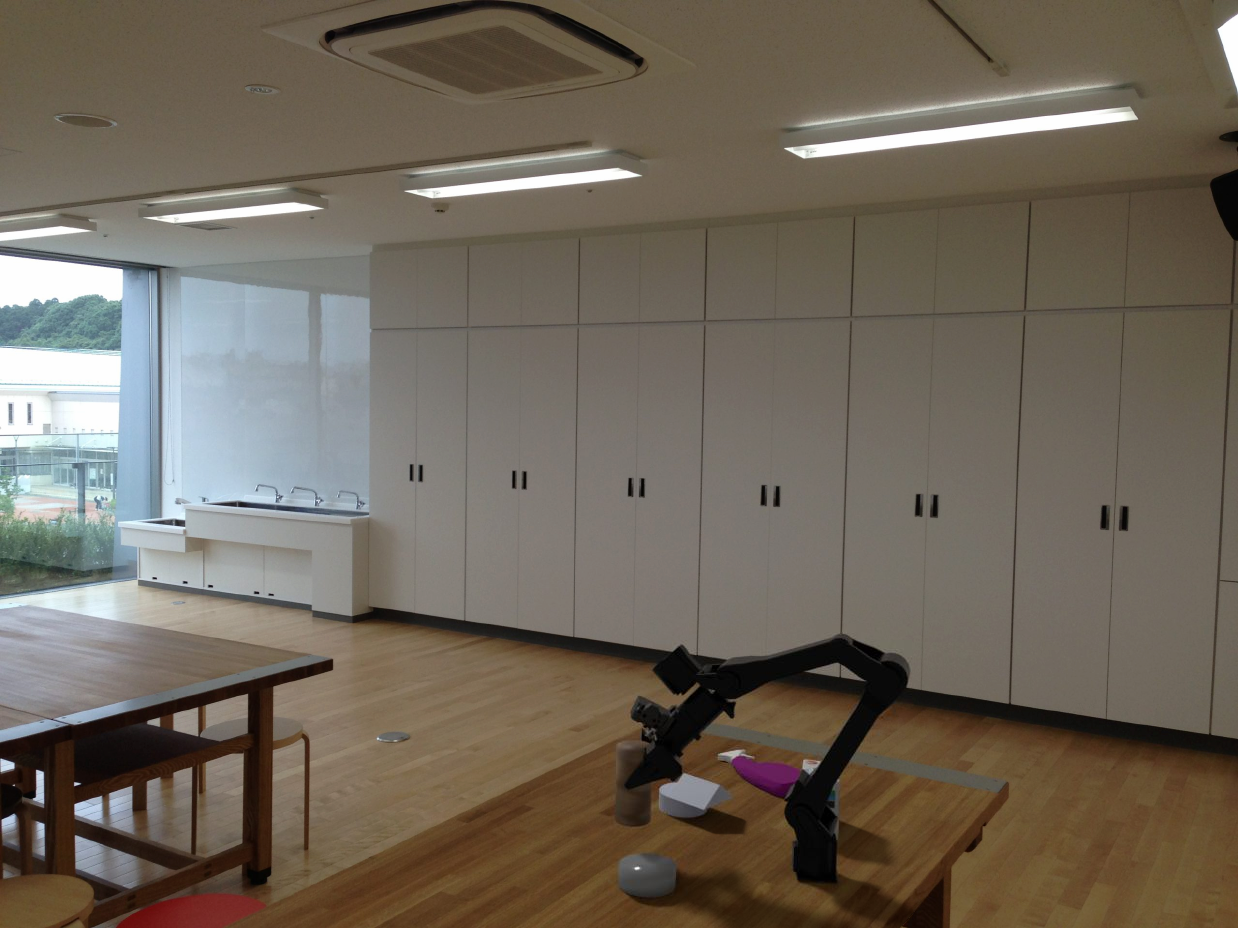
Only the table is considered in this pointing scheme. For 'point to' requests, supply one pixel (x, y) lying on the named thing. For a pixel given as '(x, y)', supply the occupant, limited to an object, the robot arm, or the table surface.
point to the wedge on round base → (690, 796)
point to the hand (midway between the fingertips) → (625, 780)
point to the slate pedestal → (647, 875)
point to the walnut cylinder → (635, 801)
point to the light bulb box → (834, 796)
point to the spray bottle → (763, 772)
